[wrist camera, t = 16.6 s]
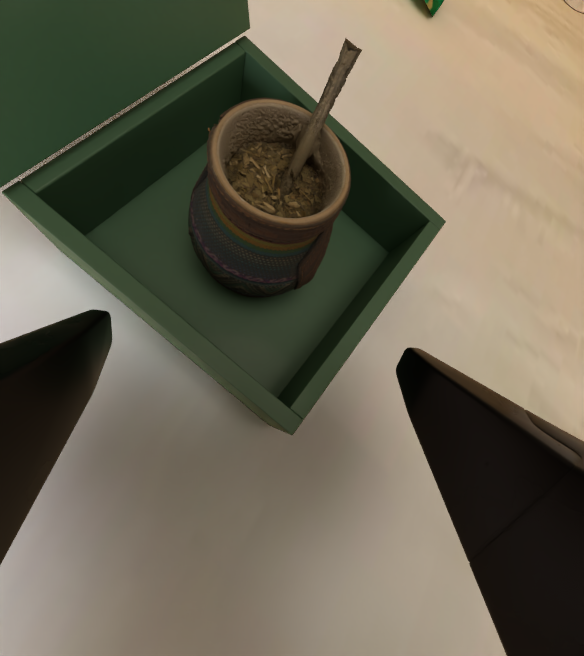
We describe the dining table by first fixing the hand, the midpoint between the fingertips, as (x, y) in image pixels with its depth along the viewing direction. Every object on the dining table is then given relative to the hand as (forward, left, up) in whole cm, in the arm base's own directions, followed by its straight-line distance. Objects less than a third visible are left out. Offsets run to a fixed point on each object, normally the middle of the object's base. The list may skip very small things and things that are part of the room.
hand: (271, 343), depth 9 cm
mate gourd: (+5, +5, -8) cm, 11 cm away
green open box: (+5, +5, -9) cm, 12 cm away
